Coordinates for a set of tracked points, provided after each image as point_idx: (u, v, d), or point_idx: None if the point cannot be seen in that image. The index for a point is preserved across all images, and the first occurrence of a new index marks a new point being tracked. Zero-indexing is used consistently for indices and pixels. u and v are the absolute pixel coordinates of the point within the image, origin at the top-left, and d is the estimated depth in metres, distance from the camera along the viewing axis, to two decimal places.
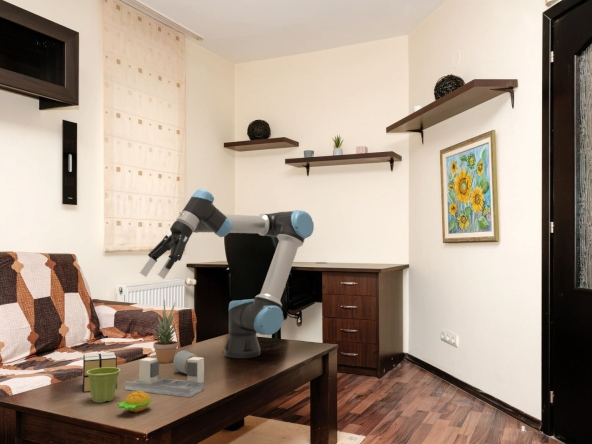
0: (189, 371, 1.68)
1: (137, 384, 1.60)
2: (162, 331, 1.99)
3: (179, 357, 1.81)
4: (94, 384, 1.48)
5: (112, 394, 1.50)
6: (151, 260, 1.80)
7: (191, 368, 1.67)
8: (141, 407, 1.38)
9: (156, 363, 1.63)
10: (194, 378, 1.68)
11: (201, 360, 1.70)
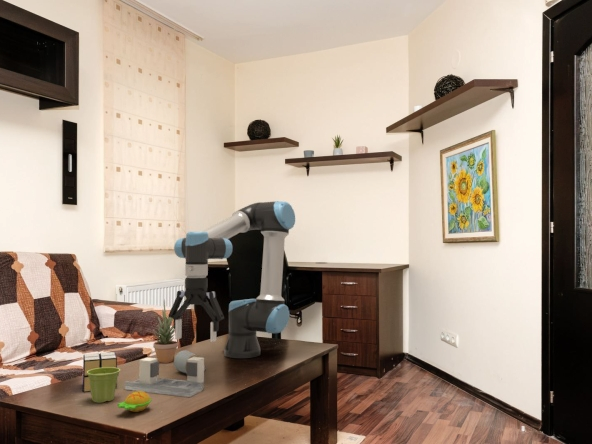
0: (189, 371, 1.68)
1: (137, 384, 1.60)
2: (162, 331, 1.99)
3: (180, 357, 1.81)
4: (94, 384, 1.48)
5: (112, 394, 1.50)
6: (178, 321, 1.72)
7: (191, 368, 1.67)
8: (141, 407, 1.38)
9: (156, 363, 1.63)
10: (194, 378, 1.68)
11: (201, 360, 1.70)
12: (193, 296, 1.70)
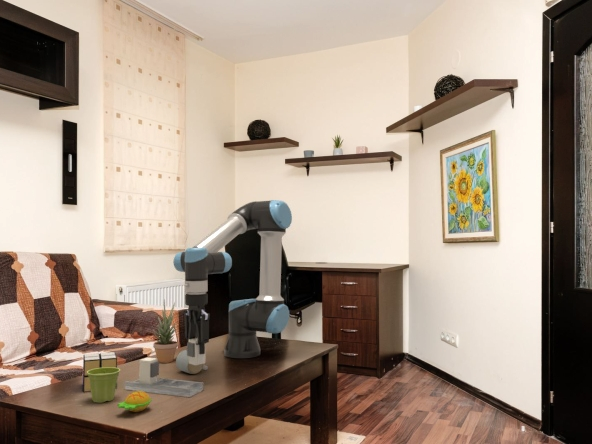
0: (188, 351, 1.69)
1: (137, 384, 1.60)
2: (162, 331, 1.99)
3: (182, 357, 1.82)
4: (94, 384, 1.48)
5: (112, 394, 1.50)
6: None
7: (190, 349, 1.69)
8: (141, 407, 1.38)
9: (156, 363, 1.63)
10: (193, 358, 1.69)
11: None
12: (192, 311, 1.71)
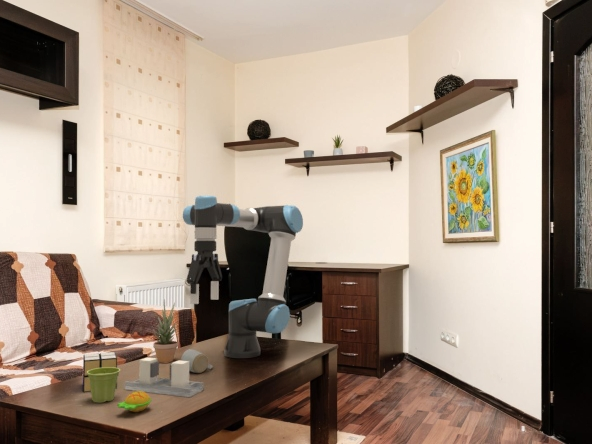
0: None
1: (137, 384, 1.60)
2: (162, 331, 1.99)
3: (187, 356, 1.83)
4: (94, 384, 1.48)
5: (112, 394, 1.50)
6: (213, 283, 1.81)
7: None
8: (141, 407, 1.38)
9: (156, 363, 1.63)
10: None
11: (177, 365, 1.58)
12: None
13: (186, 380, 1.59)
